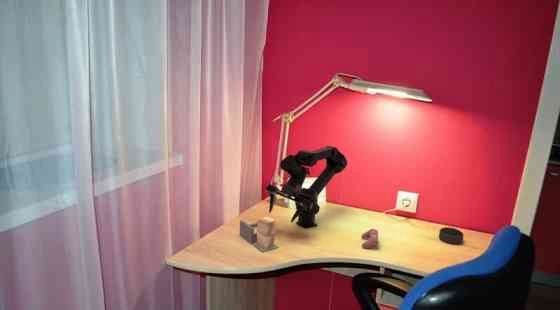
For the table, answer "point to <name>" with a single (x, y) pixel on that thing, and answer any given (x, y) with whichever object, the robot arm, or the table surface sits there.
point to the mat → (263, 248)
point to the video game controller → (370, 238)
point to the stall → (248, 231)
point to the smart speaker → (451, 235)
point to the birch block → (265, 232)
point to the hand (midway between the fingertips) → (280, 217)
